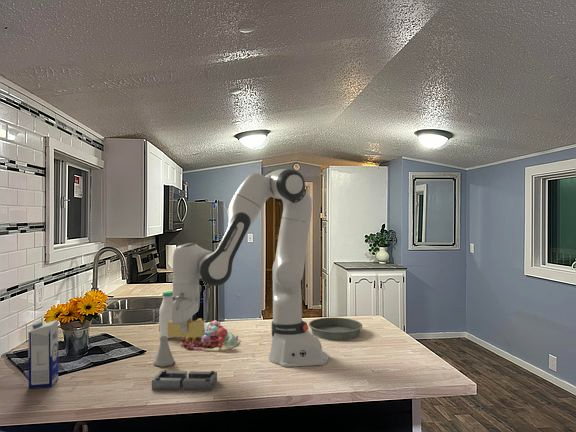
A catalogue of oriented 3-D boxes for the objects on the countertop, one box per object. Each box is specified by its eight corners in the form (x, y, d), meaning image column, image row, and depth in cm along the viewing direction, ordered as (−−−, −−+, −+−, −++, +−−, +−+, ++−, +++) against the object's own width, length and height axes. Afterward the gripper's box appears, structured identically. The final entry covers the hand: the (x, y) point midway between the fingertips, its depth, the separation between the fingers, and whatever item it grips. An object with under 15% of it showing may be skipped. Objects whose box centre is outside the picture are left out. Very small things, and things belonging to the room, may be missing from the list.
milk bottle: (180, 335, 195) (180, 291, 195) (167, 340, 189) (167, 294, 188) (168, 333, 199) (168, 289, 199) (155, 337, 193) (155, 292, 193)
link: (187, 380, 144) (187, 370, 144) (179, 390, 136) (179, 379, 136) (160, 379, 144) (160, 369, 144) (151, 389, 136) (151, 378, 136)
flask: (163, 368, 155) (163, 340, 154) (149, 364, 158) (149, 337, 158) (178, 362, 161) (178, 335, 161) (164, 359, 165) (164, 332, 164)
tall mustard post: (204, 335, 150) (204, 320, 150) (202, 337, 147) (202, 322, 147) (170, 334, 151) (170, 320, 151) (167, 336, 148) (167, 322, 148)
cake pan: (298, 336, 195) (298, 326, 195) (323, 324, 216) (323, 315, 216) (349, 345, 182) (349, 334, 182) (370, 331, 203) (370, 321, 203)
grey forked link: (217, 380, 143) (217, 370, 143) (211, 390, 135) (211, 380, 135) (190, 380, 144) (190, 370, 144) (183, 390, 136) (183, 379, 136)
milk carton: (51, 386, 139) (51, 324, 138) (28, 388, 137) (27, 325, 137) (58, 378, 146) (58, 319, 145) (36, 380, 144) (35, 320, 144)
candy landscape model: (171, 350, 176) (171, 327, 176) (193, 334, 199) (193, 313, 199) (230, 353, 172) (230, 330, 171) (246, 336, 195) (246, 316, 195)
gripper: (185, 296, 138) (186, 340, 138) (202, 285, 159) (202, 323, 159) (166, 296, 139) (166, 339, 139) (185, 285, 159) (185, 323, 159)
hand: (186, 330), depth 149 cm, fingers closed on tall mustard post, 3 cm apart
